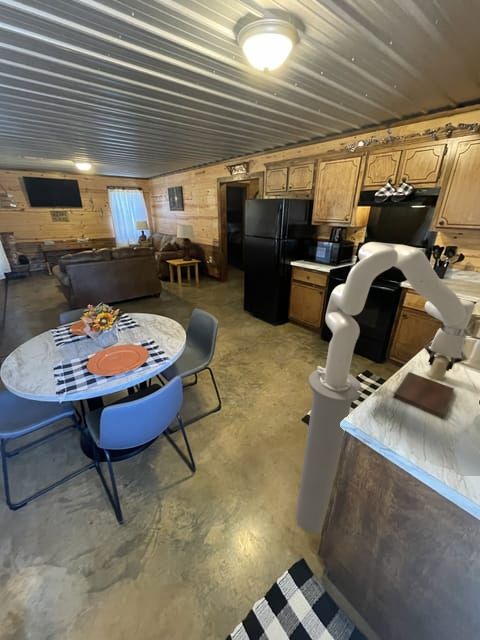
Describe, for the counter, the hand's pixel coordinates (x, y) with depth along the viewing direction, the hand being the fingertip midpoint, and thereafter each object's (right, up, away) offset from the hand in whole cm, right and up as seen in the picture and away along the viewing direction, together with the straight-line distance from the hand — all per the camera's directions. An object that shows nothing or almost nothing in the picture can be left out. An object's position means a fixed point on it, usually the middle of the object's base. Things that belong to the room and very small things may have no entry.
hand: (439, 366), depth 113 cm
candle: (0, -5, +2) cm, 5 cm away
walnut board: (-13, -9, -9) cm, 19 cm away
